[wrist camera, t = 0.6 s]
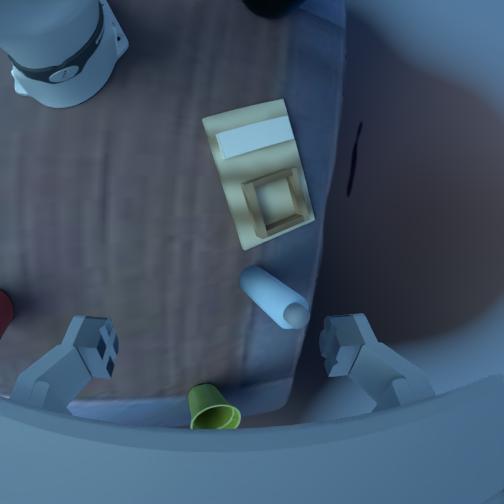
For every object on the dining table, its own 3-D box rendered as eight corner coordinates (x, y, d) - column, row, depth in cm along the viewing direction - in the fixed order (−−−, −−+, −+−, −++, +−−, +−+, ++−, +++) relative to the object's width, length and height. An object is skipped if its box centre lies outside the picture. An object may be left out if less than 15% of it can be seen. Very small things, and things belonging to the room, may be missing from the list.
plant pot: (234, 384, 58) (250, 411, 50) (209, 415, 57) (223, 443, 50) (195, 370, 53) (208, 399, 46) (171, 403, 53) (181, 434, 45)
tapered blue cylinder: (235, 272, 52) (279, 312, 37) (261, 261, 53) (312, 294, 39) (243, 297, 53) (288, 341, 39) (268, 285, 55) (318, 324, 41)
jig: (201, 119, 43) (208, 115, 40) (279, 100, 47) (290, 96, 44) (242, 248, 51) (251, 254, 48) (311, 219, 55) (323, 222, 52)
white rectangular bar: (215, 134, 43) (218, 133, 42) (283, 116, 47) (287, 115, 45) (223, 159, 45) (226, 158, 43) (289, 139, 48) (294, 138, 47)
